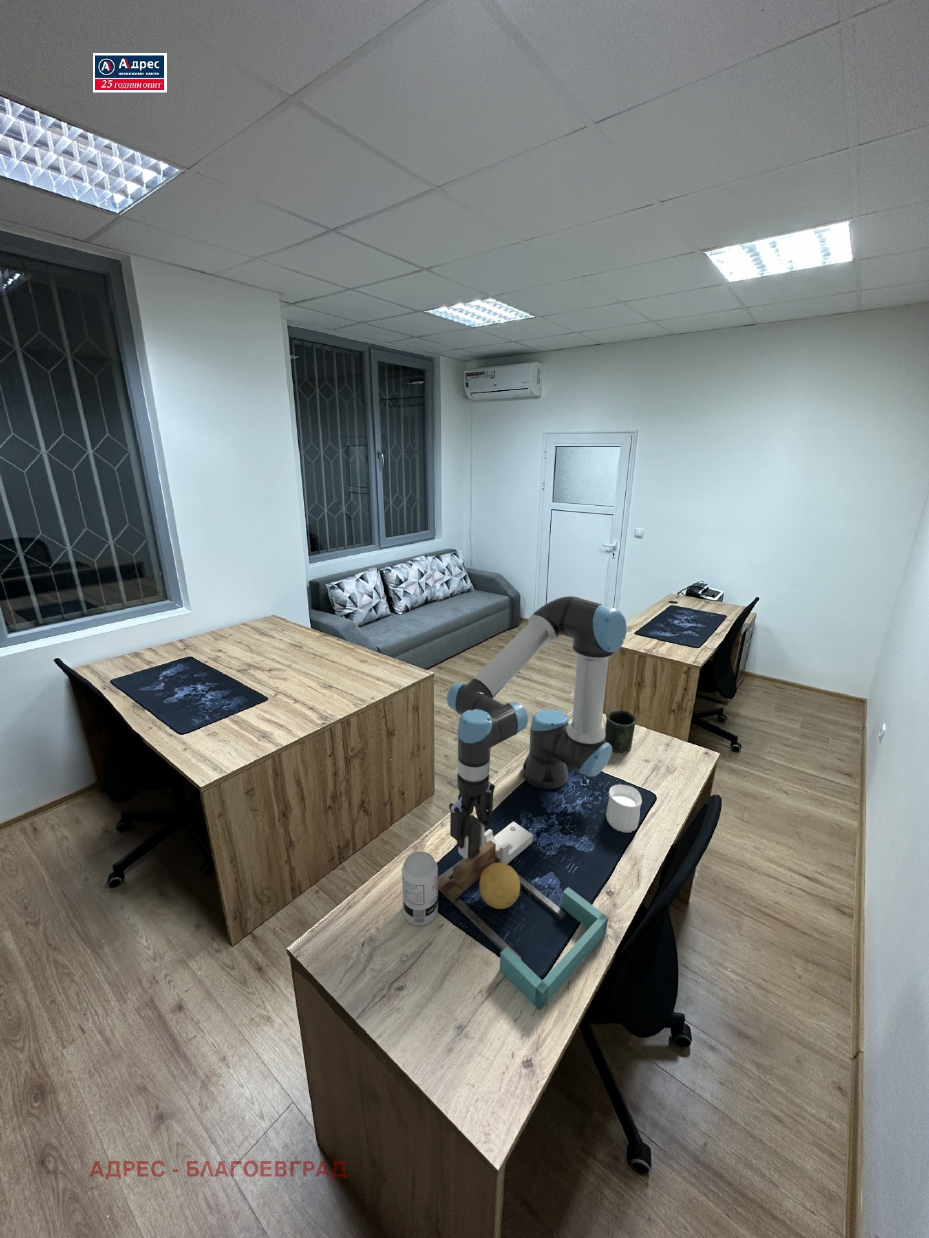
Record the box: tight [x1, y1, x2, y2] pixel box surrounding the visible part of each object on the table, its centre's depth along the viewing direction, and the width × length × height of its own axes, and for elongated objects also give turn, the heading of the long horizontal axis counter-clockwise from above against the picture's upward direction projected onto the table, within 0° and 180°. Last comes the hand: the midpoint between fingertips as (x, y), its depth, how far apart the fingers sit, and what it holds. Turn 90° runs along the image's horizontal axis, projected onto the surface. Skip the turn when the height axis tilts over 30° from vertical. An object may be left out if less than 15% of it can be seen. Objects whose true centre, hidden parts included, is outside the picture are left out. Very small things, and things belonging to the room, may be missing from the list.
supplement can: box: [401, 851, 439, 927], centre depth 114 cm, size 8×8×15 cm
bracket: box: [484, 821, 534, 865], centre depth 134 cm, size 13×7×8 cm, turn 135°
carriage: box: [438, 814, 500, 903], centre depth 123 cm, size 19×6×18 cm, turn 133°
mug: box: [604, 709, 638, 753], centre depth 182 cm, size 11×15×12 cm
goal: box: [499, 886, 609, 1012], centre depth 107 cm, size 24×11×5 cm, turn 133°
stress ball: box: [478, 863, 521, 910], centre depth 118 cm, size 10×10×10 cm
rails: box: [438, 846, 566, 961], centre depth 120 cm, size 18×28×1 cm, turn 43°
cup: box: [605, 784, 643, 834], centre depth 144 cm, size 10×10×10 cm
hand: (471, 849), depth 123 cm, fingers open, 5 cm apart
